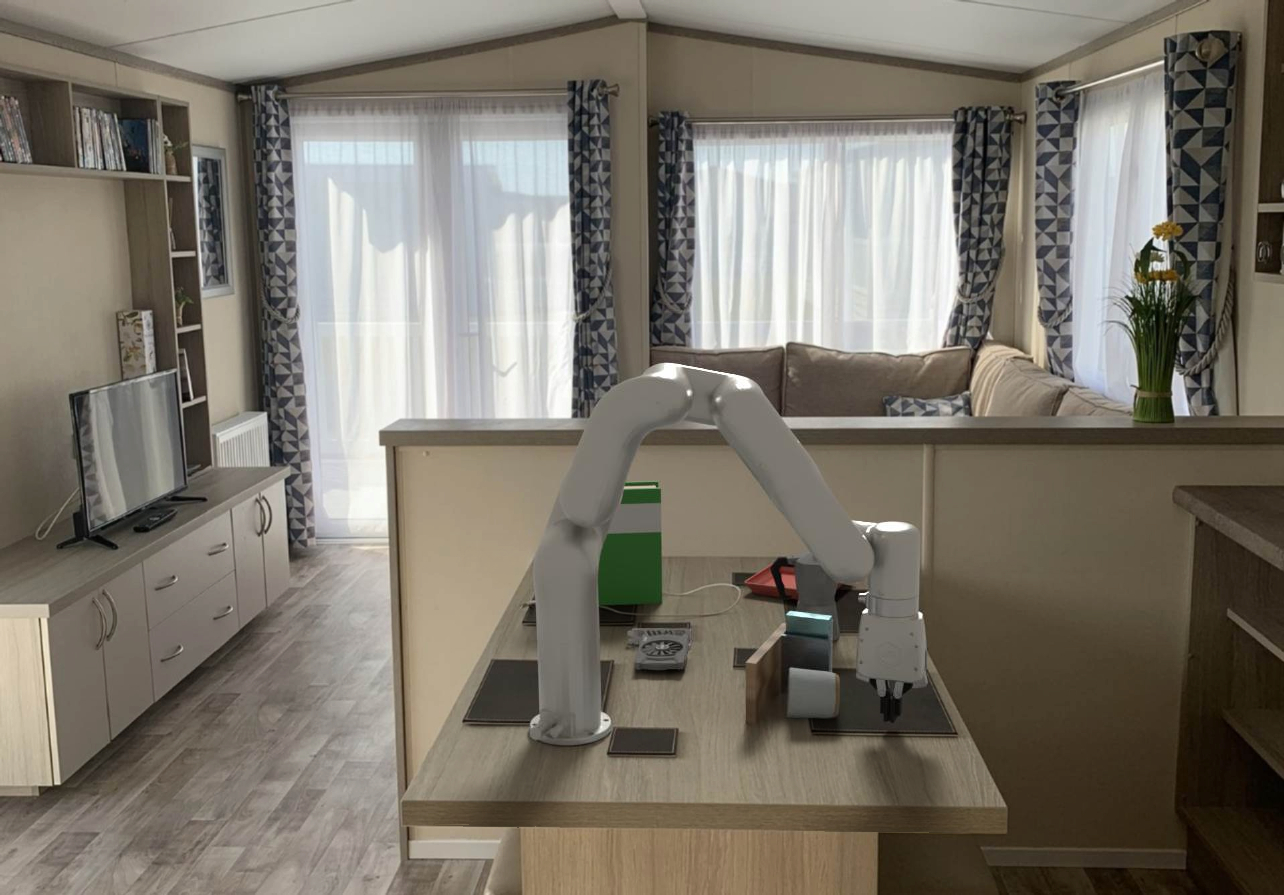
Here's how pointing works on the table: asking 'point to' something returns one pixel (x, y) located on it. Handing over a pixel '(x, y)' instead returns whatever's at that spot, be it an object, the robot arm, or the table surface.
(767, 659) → the wooden board
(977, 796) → the table surface
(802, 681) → the ceramic mug
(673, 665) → the graphics card
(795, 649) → the bookend and books
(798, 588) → the coffeepot
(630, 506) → the hardback book
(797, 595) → the plant saucer
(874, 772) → the table surface
